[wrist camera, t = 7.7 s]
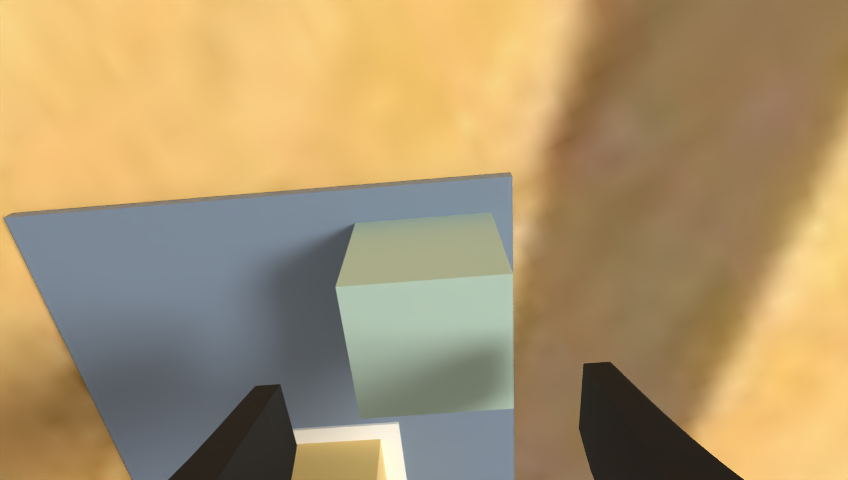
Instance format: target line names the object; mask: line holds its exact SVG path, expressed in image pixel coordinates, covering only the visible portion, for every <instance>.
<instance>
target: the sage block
mask: <svg viewBox="0 0 848 480" xmlns="http://www.w3.org/2000/svg"><path fill="white" fill-rule="evenodd" d="M335 288H336V293H337V298H338V304H339V309H340V314H341V320H342V325H343V330H344V336H345V341H346V346H347V352H348V357H349V362H350V368H351V373H352V378H353V384H354V389H355V394H356V400H357V405H358V410H359V415H360V419H364V418H379V417H394V416H409V415H424V414H440V413H455V412H470V411H485V410H500V409H514V375H513V273H512V270H511V267H510V264H509V261H508V258H507V255H506V253H505V250H504V247H503V244H502V241H501V238H500V235H499V232H498V229H497V227H496V224H495V221H494V218H493V215H492V212H488V213H476V214H463V215H451V216H438V217H425V218H413V219H400V220H388V221H375V222H362V223H355V226H354V229H353V232H352V235H351V238H350V242H349V245H348V248H347V251H346V255H345V258H344V261H343V264H342V267H341V271H340V274H339V277H338V280H337V284H336V287H335Z"/></svg>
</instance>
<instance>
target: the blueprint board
mask: <svg viewBox="0 0 848 480" xmlns="http://www.w3.org/2000/svg"><path fill="white" fill-rule="evenodd" d="M488 212H492V215H493V218H494V221H495V224H496V227H497V229H498V232H499V235H500V238H501V241H502V244H503V247H504V250H505V253H506V255H507V258H508V261H509V264H510V267H511V270H512V273H513V213H512V175H511V173H498V174H486V175H474V176H462V177H449V178H437V179H425V180H413V181H401V182H388V183H376V184H364V185H352V186H339V187H327V188H315V189H303V190H291V191H278V192H266V193H254V194H242V195H229V196H217V197H205V198H193V199H181V200H168V201H156V202H144V203H132V204H120V205H107V206H95V207H83V208H71V209H58V210H46V211H34V212H22V213H12V214H10V215H8V216H6V217H4V220H5V222H6V224H7V226H8V228H9V230H10V232H11V234H12V236H13V238H14V240H15V242H16V244H17V246H18V248H19V250H20V252H21V254H22V256H23V258H24V261H25V263H26V265H27V267H28V269H29V271H30V273H31V275H32V277H33V279H34V281H35V283H36V285H37V287H38V289H39V291H40V293H41V295H42V297H43V299H44V301H45V303H46V305H47V307H48V309H49V311H50V313H51V316H52V318H53V320H54V322H55V324H56V326H57V328H58V330H59V332H60V334H61V336H62V338H63V340H64V342H65V344H66V346H67V348H68V350H69V352H70V354H71V356H72V358H73V360H74V362H75V364H76V366H77V368H78V370H79V373H80V375H81V377H82V379H83V381H84V383H85V385H86V387H87V389H88V391H89V393H90V395H91V397H92V399H93V401H94V403H95V405H96V407H97V409H98V411H99V413H100V415H101V417H102V419H103V421H104V423H105V425H106V427H107V430H108V432H109V434H110V436H111V438H112V440H113V442H114V444H115V446H116V448H117V450H118V452H119V454H120V456H121V458H122V460H123V462H124V464H125V466H126V468H127V470H128V472H129V474H130V476H131V478H132V480H168V479H169V478H170V477H171V476H172V475H173V474H174V473H175V472H176V471H177V470H178V469H179V468H180V467H181V466H182V465H183V464H184V463H185V462H186V461H187V460H188V459H189V458H190V457H191V456H192V455H193V454H194V453H195V452H196V450H197V449H198V448H199V447H200V446H201V445H202V444H203V443H204V442H205V441H206V440H207V439H208V438H209V436H210V435H211V434H212V433H213V432H214V431H215V430H216V429H217V428H218V427H219V425H220V424H221V423H222V422H223V421H224V420H225V419H226V418H227V417H228V415H229V414H230V413H231V412H232V411H233V410H234V409H235V408H236V406H237V405H238V404H239V403H240V402H241V401H242V400H243V399H244V398H245V397H246V395H247V394H248V393H249V392H250V391H251V390H252V389H253V388H254V387H255V386H259V385H274V384H280V385H281V388H282V392H283V396H284V399H285V403H286V407H287V410H288V414H289V418H290V421H291V425H292V429H293V432H294V436H295V440H296V443H297V444H305V443H322V442H339V441H356V440H374V439H381V445H382V452H383V458H384V465H385V471H386V478H387V480H514V409H500V410H485V411H470V412H455V413H440V414H424V415H409V416H394V417H379V418H364V419H360V415H359V410H358V405H357V400H356V394H355V389H354V384H353V378H352V373H351V368H350V362H349V357H348V352H347V346H346V341H345V336H344V330H343V325H342V320H341V314H340V309H339V304H338V298H337V293H336V288H335V287H336V284H337V280H338V277H339V274H340V271H341V267H342V264H343V261H344V258H345V255H346V251H347V248H348V245H349V242H350V238H351V235H352V232H353V229H354V226H355V223H362V222H375V221H388V220H400V219H413V218H425V217H438V216H451V215H463V214H476V213H488ZM513 375H514V364H513Z"/></svg>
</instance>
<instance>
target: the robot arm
mask: <svg viewBox="0 0 848 480" xmlns="http://www.w3.org/2000/svg"><path fill="white" fill-rule="evenodd" d="M579 430H580V434H581V437H582V441H583V445H584V448H585V452H586V456H587V459H588V462H589V466H590V469H591V472H592V475H593V477H594V480H744V479H742V478H741V477H740V476H738V475H737V474H736V473H734V472H733V471H732V470H730V469H729V468H728V467H727V466H725V465H724V464H723V463H722V462H720V461H719V460H718V459H717V458H715V457H714V456H713V455H712V454H710V453H709V452H708V451H707V450H706V449H704V448H703V447H702V446H701V445H700V444H698V443H697V442H696V441H695V440H694V439H692V438H691V437H690V436H689V435H688V434H687V433H686V432H684V431H683V430H682V429H681V428H680V427H679V426H678V425H677V424H675V423H674V422H673V421H672V420H671V419H670V418H669V417H668V416H667V415H665V414H664V413H663V412H662V411H661V410H660V409H659V408H658V407H657V406H656V405H655V404H653V403H652V402H651V401H650V400H649V399H648V398H647V397H646V396H645V395H644V394H643V393H642V392H641V391H640V390H639V389H638V388H637V387H636V386H635V385H634V384H633V383H632V382H631V381H630V380H628V379H627V378H626V377H625V376H624V375H623V374H622V373H621V372H620V371H619V370H618V369H617V368H616V367H615V366H614V365H613V364H612V363H611V362H601V363H586V364H584V365H583V379H582V393H581V407H580V421H579ZM296 450H297V443H296V440H295V436H294V432H293V429H292V425H291V421H290V418H289V414H288V410H287V407H286V403H285V399H284V396H283V392H282V388H281V385H280V384H274V385H259V386H255V387H254V388H253V389H252V390H251V391H250V392H249V393H248V394H247V395H246V397H245V398H244V399H243V400H242V401H241V402H240V403H239V404H238V405H237V406H236V408H235V409H234V410H233V411H232V412H231V413H230V414H229V415H228V417H227V418H226V419H225V420H224V421H223V422H222V423H221V424H220V425H219V427H218V428H217V429H216V430H215V431H214V432H213V433H212V434H211V435H210V436H209V438H208V439H207V440H206V441H205V442H204V443H203V444H202V445H201V446H200V447H199V448H198V449H197V450H196V452H195V453H194V454H193V455H192V456H191V457H190V458H189V459H188V460H187V461H186V462H185V463H184V464H183V465H182V466H181V467H180V468H179V469H178V470H177V471H176V472H175V473H174V474H173V475H172V476H171V477H170V478H169V479H168V480H291V478H292V473H293V468H294V462H295V456H296Z"/></svg>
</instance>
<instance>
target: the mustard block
mask: <svg viewBox="0 0 848 480" xmlns="http://www.w3.org/2000/svg"><path fill="white" fill-rule="evenodd" d="M291 480H387V478H386V471H385V465H384V458H383V452H382V445H381V439H374V440H356V441H339V442H322V443H305V444H297V450H296V456H295V462H294V468H293V473H292V478H291Z"/></svg>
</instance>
